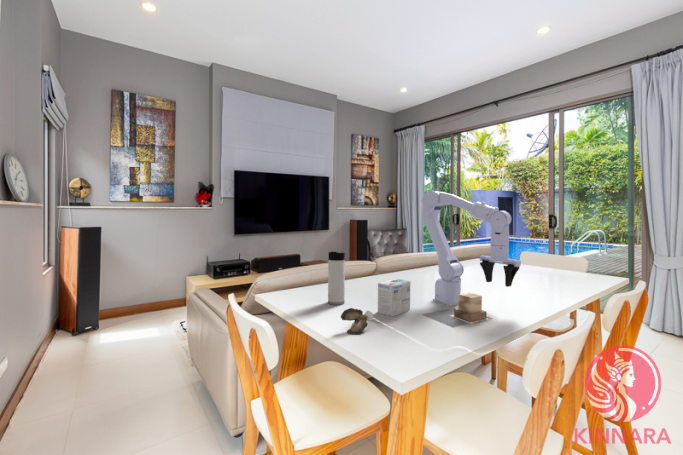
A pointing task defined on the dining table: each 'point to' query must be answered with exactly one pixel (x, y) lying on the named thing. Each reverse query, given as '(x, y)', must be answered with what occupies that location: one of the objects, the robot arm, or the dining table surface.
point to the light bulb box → (393, 297)
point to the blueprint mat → (449, 318)
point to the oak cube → (470, 302)
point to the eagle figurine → (356, 319)
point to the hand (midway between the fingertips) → (498, 284)
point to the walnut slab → (470, 315)
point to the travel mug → (336, 278)
